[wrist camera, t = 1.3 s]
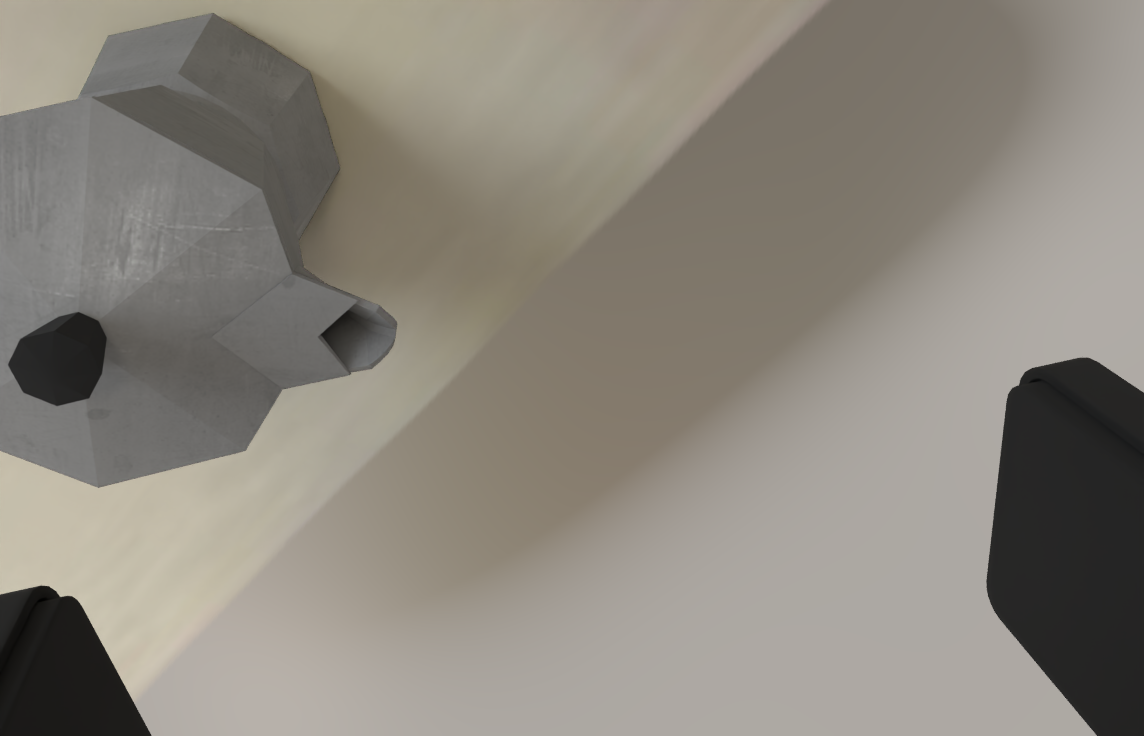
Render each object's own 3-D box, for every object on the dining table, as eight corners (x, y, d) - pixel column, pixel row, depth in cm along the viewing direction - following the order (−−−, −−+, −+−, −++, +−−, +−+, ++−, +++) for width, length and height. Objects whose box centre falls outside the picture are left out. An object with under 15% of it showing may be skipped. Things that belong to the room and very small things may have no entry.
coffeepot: (408, 46, 33) (428, 191, 17) (378, 286, 37) (372, 581, 21) (-79, -46, 29) (-624, 31, 13) (-53, 233, 33) (-451, 544, 17)
